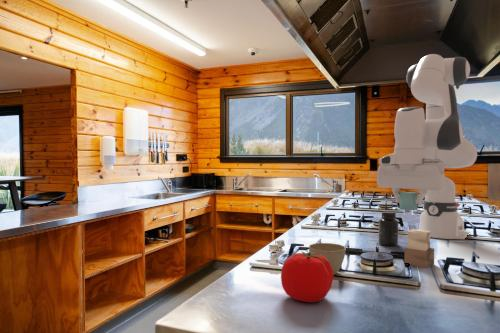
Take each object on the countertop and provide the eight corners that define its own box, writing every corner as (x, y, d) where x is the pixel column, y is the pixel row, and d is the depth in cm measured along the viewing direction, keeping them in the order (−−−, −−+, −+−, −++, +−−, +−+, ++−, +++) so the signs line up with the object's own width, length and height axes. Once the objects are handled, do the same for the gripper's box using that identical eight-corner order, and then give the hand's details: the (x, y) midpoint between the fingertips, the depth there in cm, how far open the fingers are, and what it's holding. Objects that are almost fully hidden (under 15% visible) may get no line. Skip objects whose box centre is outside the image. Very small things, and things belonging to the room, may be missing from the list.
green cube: (404, 207, 112) (405, 191, 112) (420, 209, 108) (420, 193, 108) (396, 208, 109) (396, 192, 109) (412, 210, 105) (412, 193, 105)
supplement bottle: (400, 247, 126) (400, 213, 126) (380, 246, 127) (380, 213, 127) (396, 242, 133) (396, 211, 132) (377, 241, 134) (377, 210, 134)
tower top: (412, 245, 108) (412, 229, 108) (430, 247, 105) (430, 231, 105) (407, 248, 105) (407, 231, 105) (425, 251, 101) (425, 233, 101)
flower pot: (346, 269, 100) (347, 244, 100) (344, 280, 91) (344, 252, 90) (311, 265, 103) (311, 241, 103) (305, 276, 94) (305, 249, 94)
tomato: (297, 313, 71) (298, 262, 71) (271, 293, 82) (272, 249, 81) (345, 303, 76) (345, 256, 76) (315, 286, 86) (315, 244, 86)
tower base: (414, 260, 109) (414, 244, 109) (434, 265, 105) (434, 248, 105) (404, 264, 106) (404, 247, 106) (424, 268, 101) (424, 251, 101)
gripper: (449, 158, 102) (448, 206, 102) (385, 159, 118) (384, 200, 118) (439, 158, 98) (438, 207, 98) (374, 158, 114) (373, 201, 114)
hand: (408, 203), depth 108 cm, fingers closed on green cube, 5 cm apart
